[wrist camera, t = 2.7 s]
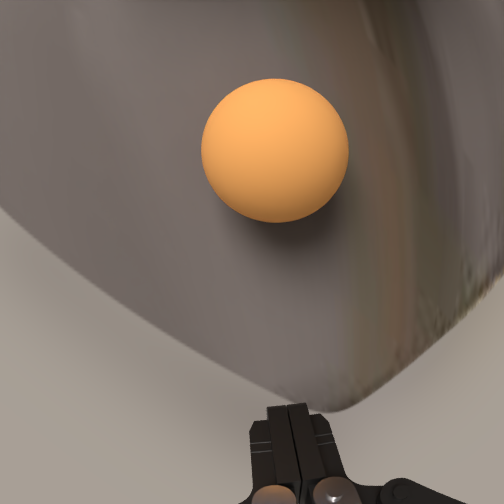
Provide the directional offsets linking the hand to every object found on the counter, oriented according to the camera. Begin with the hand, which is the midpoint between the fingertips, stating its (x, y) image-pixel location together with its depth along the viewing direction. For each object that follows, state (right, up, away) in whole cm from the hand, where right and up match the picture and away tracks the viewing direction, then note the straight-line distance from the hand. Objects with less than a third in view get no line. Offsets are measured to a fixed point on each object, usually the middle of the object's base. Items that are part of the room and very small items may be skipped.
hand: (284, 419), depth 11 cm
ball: (0, +10, 0) cm, 10 cm away
